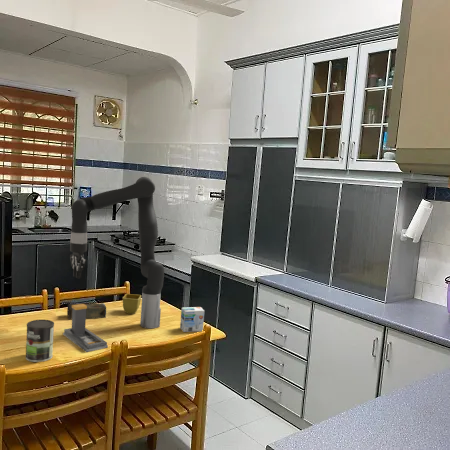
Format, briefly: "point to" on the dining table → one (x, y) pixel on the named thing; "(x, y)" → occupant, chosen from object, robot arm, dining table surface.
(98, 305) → the beverage carton
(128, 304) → the flower pot
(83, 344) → the fader console
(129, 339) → the dining table surface
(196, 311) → the light bulb box
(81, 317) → the fader tab
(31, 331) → the coffee can
